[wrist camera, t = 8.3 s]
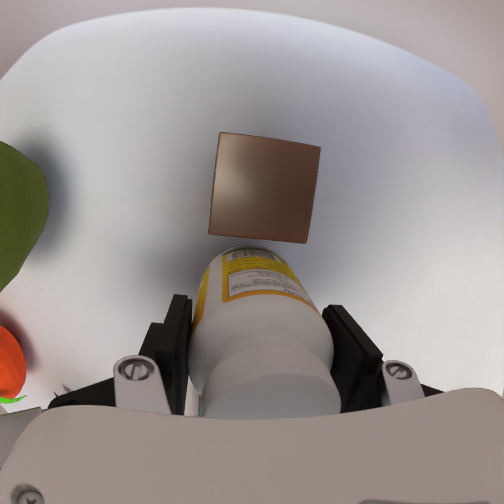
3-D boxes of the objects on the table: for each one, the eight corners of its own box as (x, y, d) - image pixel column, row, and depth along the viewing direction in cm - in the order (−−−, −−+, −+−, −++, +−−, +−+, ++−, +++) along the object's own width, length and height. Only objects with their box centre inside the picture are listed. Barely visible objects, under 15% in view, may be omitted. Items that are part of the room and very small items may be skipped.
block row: (220, 142, 16) (219, 131, 11) (296, 152, 16) (321, 146, 12) (200, 451, 22) (199, 487, 18) (245, 452, 23) (249, 488, 19)
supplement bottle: (255, 223, 15) (308, 304, 6) (310, 294, 17) (388, 409, 7) (179, 283, 16) (138, 412, 6) (238, 345, 17) (256, 480, 8)
